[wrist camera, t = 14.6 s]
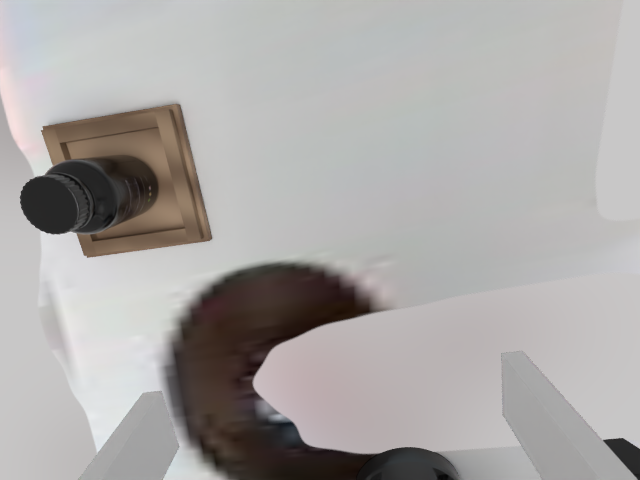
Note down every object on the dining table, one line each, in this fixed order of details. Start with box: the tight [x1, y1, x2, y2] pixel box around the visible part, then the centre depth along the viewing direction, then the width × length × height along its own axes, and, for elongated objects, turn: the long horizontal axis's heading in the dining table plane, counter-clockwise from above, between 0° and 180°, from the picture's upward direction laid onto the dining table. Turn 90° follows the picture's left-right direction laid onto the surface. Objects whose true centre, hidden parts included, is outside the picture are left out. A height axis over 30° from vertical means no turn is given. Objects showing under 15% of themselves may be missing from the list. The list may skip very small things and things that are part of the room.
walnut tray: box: [41, 104, 212, 258], centre depth 40 cm, size 15×15×2 cm
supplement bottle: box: [20, 155, 158, 235], centre depth 34 cm, size 7×7×12 cm
